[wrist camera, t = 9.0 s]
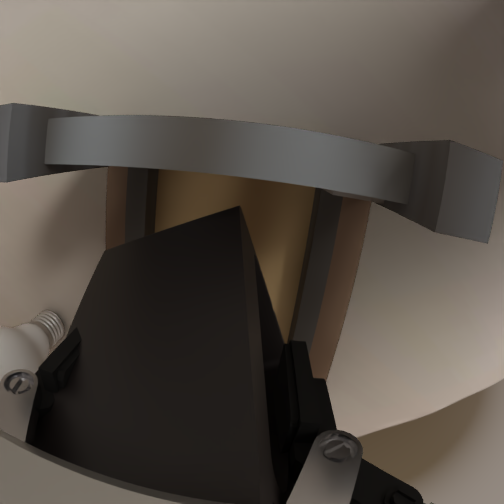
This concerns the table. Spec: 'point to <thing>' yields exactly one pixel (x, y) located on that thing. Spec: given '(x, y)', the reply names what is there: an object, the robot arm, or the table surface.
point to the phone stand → (177, 369)
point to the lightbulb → (29, 342)
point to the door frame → (261, 194)
